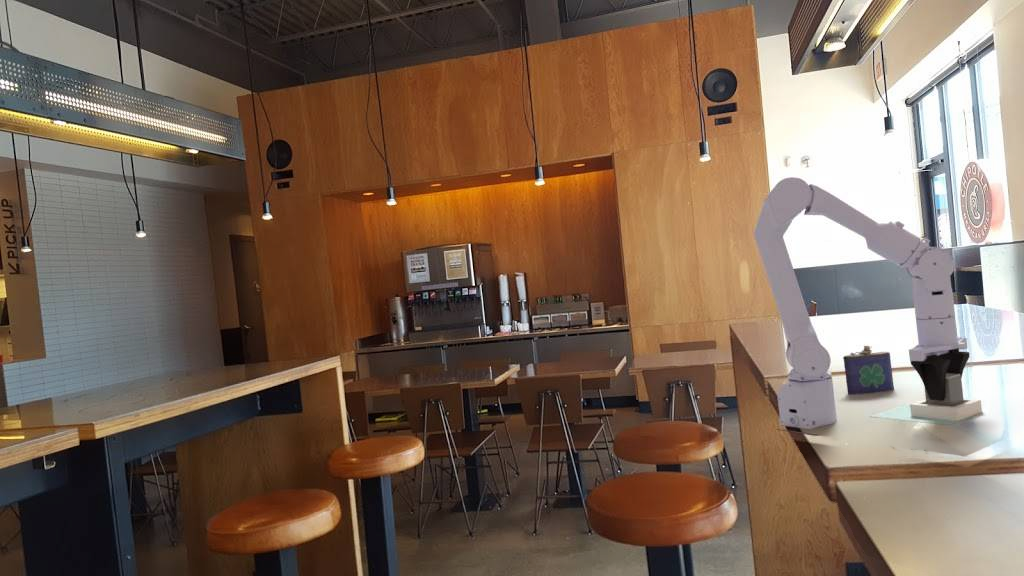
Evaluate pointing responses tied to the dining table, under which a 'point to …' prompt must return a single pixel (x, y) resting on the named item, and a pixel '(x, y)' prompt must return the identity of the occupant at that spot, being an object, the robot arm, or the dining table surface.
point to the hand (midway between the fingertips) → (944, 397)
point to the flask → (868, 372)
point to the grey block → (949, 392)
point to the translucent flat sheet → (905, 414)
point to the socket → (946, 410)
